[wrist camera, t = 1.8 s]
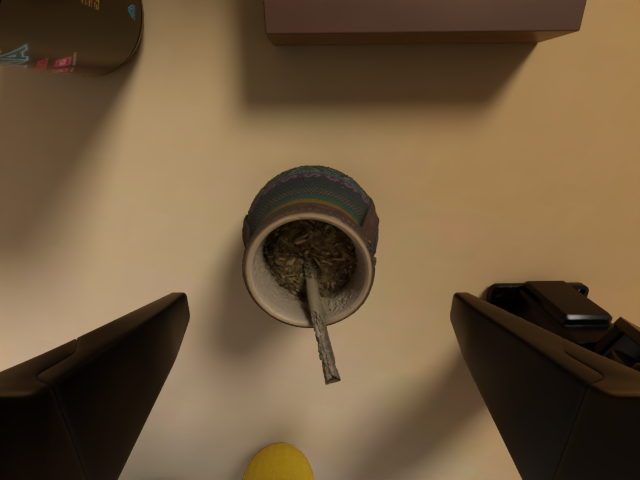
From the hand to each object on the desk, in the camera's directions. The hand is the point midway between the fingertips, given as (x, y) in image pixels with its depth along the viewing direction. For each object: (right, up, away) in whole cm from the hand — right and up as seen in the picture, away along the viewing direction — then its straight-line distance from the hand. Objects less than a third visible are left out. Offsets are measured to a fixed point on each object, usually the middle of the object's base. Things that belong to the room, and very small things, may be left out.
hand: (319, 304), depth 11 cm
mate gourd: (0, +4, +10) cm, 11 cm away
